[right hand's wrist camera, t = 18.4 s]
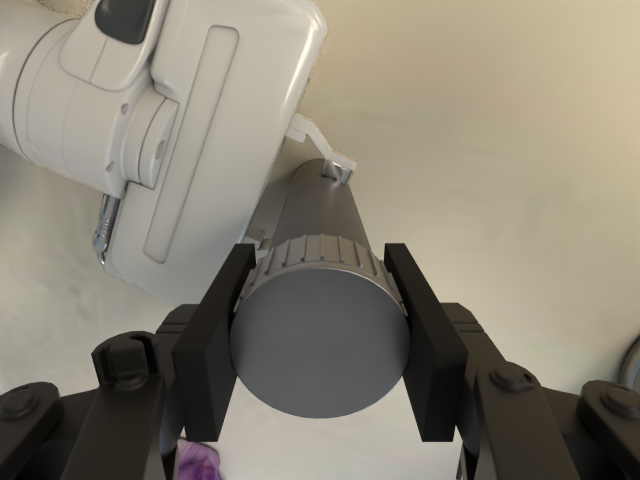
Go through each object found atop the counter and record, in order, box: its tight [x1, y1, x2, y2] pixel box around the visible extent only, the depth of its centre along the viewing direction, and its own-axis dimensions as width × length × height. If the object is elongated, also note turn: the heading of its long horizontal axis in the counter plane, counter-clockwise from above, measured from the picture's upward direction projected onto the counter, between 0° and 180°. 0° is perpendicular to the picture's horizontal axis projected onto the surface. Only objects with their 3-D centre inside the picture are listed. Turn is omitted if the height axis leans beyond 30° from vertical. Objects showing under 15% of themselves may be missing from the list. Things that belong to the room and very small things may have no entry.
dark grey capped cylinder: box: [268, 159, 371, 253], centre depth 20 cm, size 4×4×20 cm
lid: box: [229, 234, 411, 418], centre depth 11 cm, size 5×5×2 cm
